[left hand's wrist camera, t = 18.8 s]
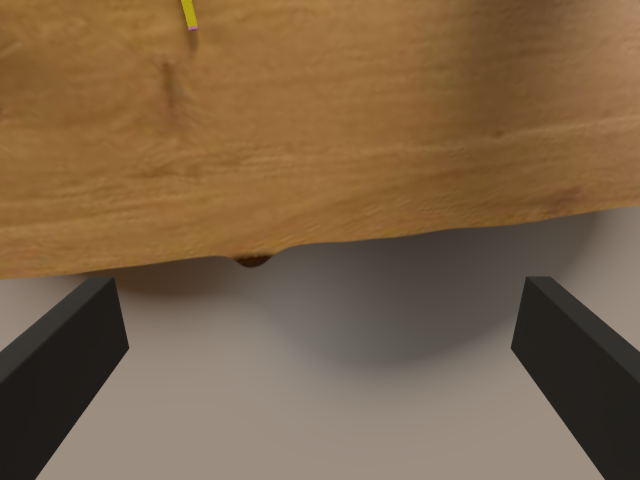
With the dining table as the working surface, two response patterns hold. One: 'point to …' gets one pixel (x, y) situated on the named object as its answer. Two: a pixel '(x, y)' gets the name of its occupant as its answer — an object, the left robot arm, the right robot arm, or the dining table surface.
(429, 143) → the dining table surface
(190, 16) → the pencil
